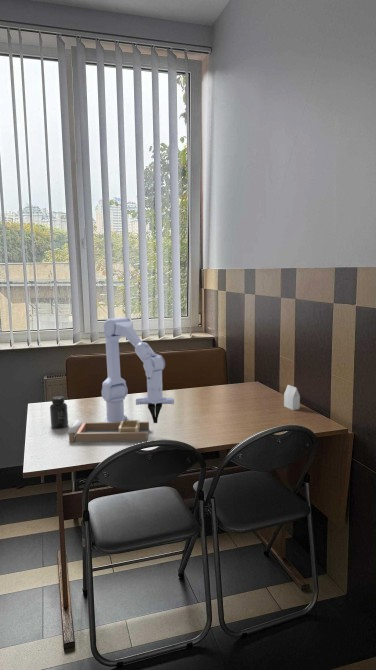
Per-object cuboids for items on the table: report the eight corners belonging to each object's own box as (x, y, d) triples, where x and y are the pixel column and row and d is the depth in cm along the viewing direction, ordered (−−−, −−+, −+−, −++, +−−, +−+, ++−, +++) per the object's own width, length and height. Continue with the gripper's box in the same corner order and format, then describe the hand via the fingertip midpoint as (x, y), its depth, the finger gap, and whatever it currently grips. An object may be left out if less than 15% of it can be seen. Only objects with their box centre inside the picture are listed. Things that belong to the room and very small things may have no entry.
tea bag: (292, 410, 215) (293, 388, 214) (283, 406, 221) (284, 385, 220) (299, 409, 217) (300, 387, 215) (290, 405, 223) (291, 384, 221)
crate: (121, 430, 189) (121, 420, 188) (139, 430, 189) (139, 420, 188) (118, 438, 180) (118, 428, 179) (137, 438, 180) (137, 428, 179)
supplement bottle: (69, 423, 200) (68, 395, 198) (66, 428, 193) (64, 399, 191) (53, 423, 200) (51, 395, 198) (49, 428, 193) (47, 400, 191)
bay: (75, 430, 191) (74, 418, 190) (149, 429, 191) (148, 417, 190) (67, 442, 178) (66, 430, 177) (146, 441, 178) (146, 429, 177)
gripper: (134, 390, 178) (135, 426, 180) (173, 390, 178) (174, 425, 180) (136, 386, 185) (137, 420, 187) (174, 385, 185) (174, 419, 187)
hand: (155, 422), depth 184 cm, fingers closed
